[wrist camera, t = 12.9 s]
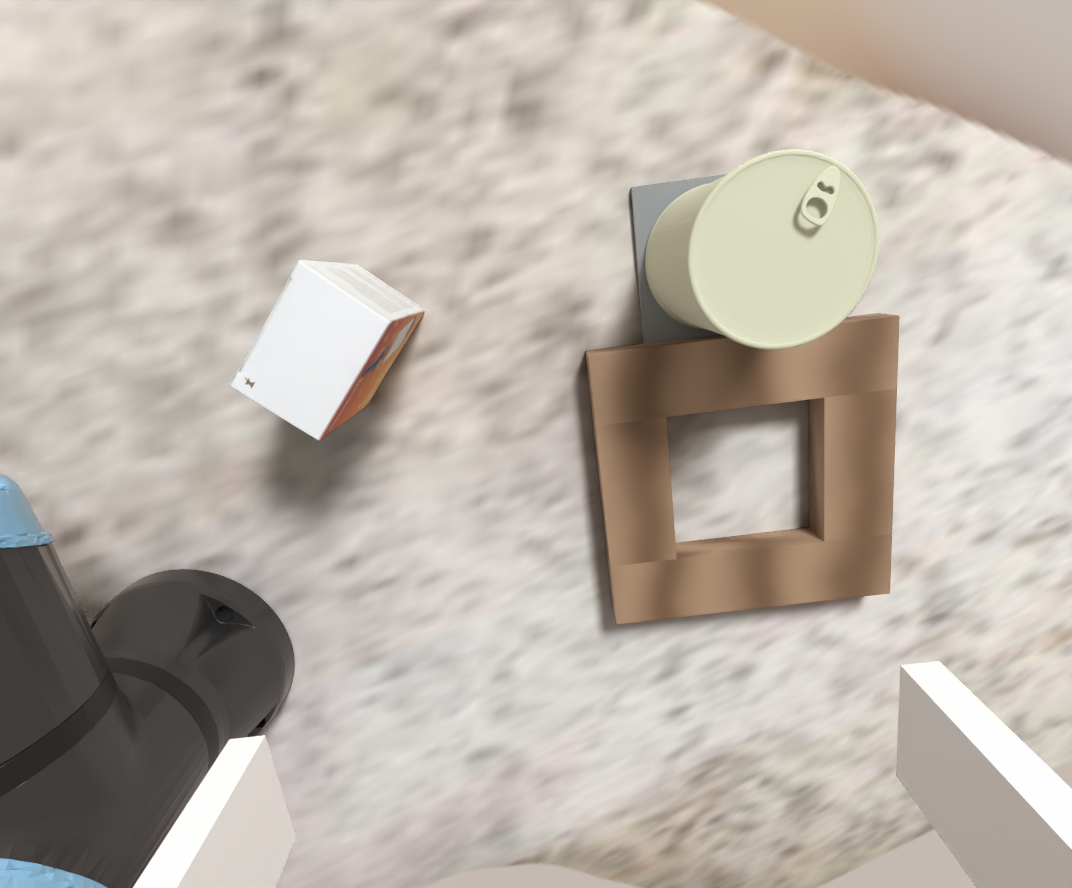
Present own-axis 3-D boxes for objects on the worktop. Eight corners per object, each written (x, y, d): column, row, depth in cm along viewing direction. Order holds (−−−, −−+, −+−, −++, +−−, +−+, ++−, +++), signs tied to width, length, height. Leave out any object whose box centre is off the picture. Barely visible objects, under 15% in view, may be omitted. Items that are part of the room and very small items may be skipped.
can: (813, 226, 39) (928, 207, 28) (736, 353, 42) (813, 384, 30) (691, 155, 38) (758, 105, 27) (619, 289, 40) (652, 297, 29)
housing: (612, 606, 47) (616, 624, 45) (585, 351, 42) (588, 355, 40) (871, 576, 47) (889, 593, 44) (878, 313, 41) (899, 315, 39)
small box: (368, 405, 43) (317, 446, 33) (298, 360, 42) (224, 388, 32) (428, 309, 41) (394, 322, 31) (356, 261, 40) (296, 257, 30)
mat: (643, 343, 42) (644, 344, 41) (630, 188, 39) (631, 187, 39) (789, 324, 42) (791, 325, 41) (787, 166, 39) (789, 165, 38)
